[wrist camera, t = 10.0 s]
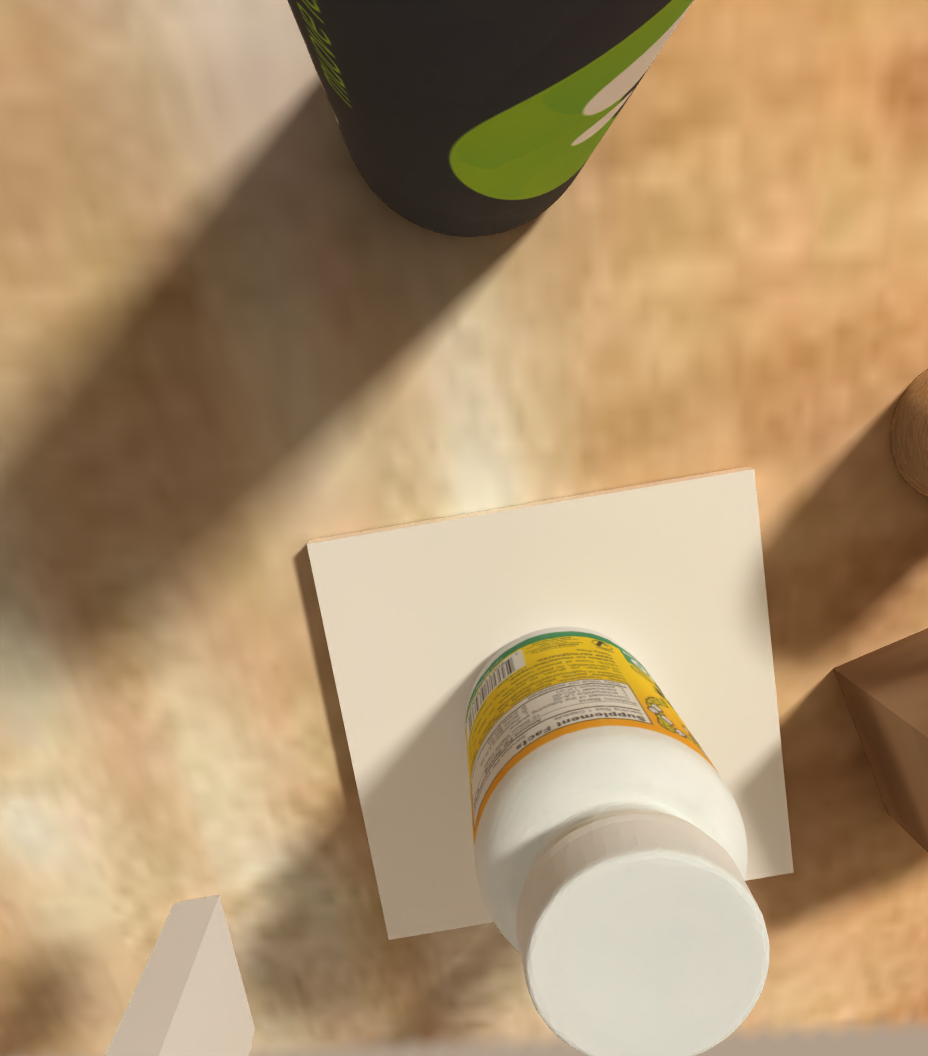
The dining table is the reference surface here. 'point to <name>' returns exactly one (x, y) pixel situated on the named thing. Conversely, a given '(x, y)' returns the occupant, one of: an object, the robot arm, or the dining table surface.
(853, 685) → the walnut block
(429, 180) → the beverage can
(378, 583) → the coaster
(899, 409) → the cylinder
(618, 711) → the supplement bottle
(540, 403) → the dining table surface
